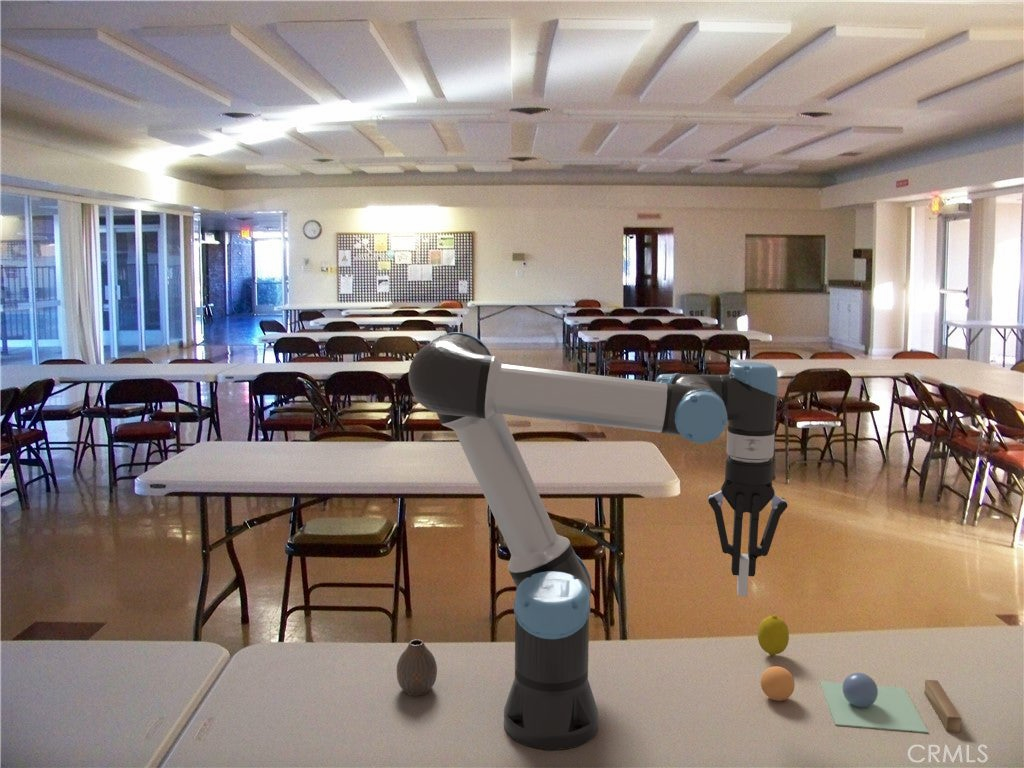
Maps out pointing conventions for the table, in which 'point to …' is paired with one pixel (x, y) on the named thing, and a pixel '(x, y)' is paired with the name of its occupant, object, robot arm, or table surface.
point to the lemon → (773, 635)
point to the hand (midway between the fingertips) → (741, 593)
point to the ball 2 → (860, 690)
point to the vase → (416, 669)
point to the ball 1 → (777, 683)
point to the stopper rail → (942, 706)
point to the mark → (874, 709)
